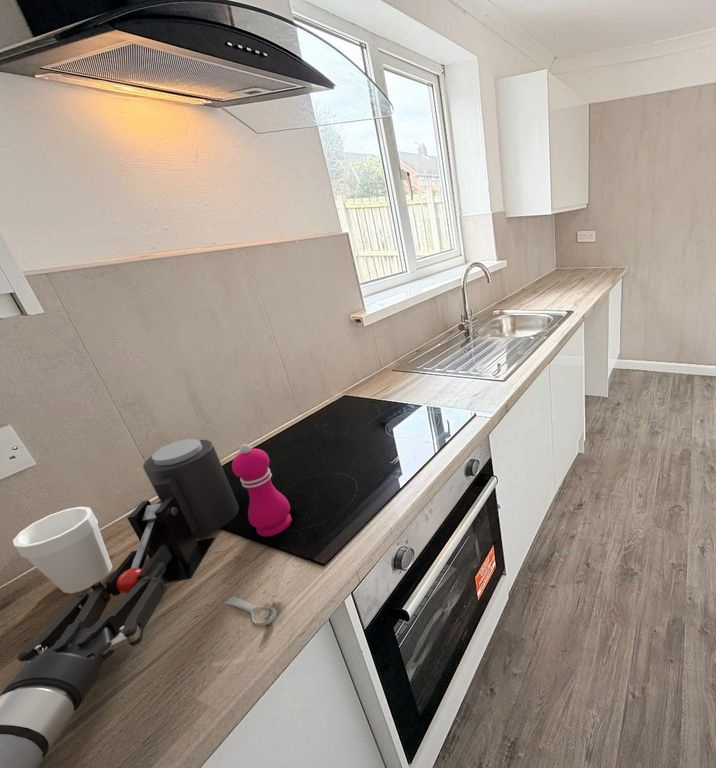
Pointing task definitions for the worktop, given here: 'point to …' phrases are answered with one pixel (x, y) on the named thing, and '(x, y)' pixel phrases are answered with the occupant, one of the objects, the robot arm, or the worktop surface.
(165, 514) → the bracket
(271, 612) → the bottle opener
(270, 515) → the pepper mill
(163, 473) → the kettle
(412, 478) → the worktop surface
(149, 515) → the red knob lever
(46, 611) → the worktop surface
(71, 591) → the foam cup
